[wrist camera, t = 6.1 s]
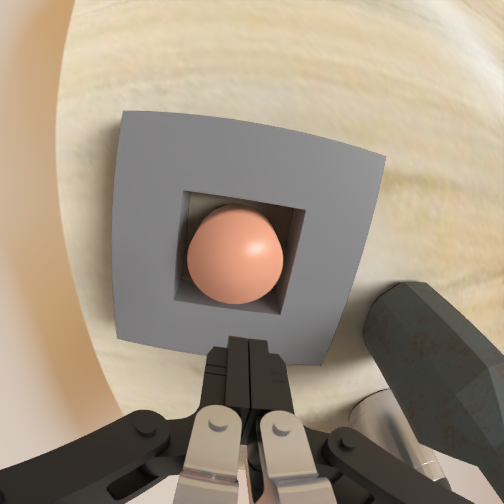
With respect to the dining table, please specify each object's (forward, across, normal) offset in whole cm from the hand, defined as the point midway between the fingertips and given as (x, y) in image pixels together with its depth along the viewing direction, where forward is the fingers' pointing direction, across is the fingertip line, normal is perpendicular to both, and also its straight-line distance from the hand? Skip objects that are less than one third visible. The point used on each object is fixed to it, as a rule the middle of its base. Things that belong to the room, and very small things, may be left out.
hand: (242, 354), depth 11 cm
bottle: (+16, -20, +6) cm, 26 cm away
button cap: (+14, +1, 0) cm, 14 cm away
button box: (+15, +1, 0) cm, 15 cm away
